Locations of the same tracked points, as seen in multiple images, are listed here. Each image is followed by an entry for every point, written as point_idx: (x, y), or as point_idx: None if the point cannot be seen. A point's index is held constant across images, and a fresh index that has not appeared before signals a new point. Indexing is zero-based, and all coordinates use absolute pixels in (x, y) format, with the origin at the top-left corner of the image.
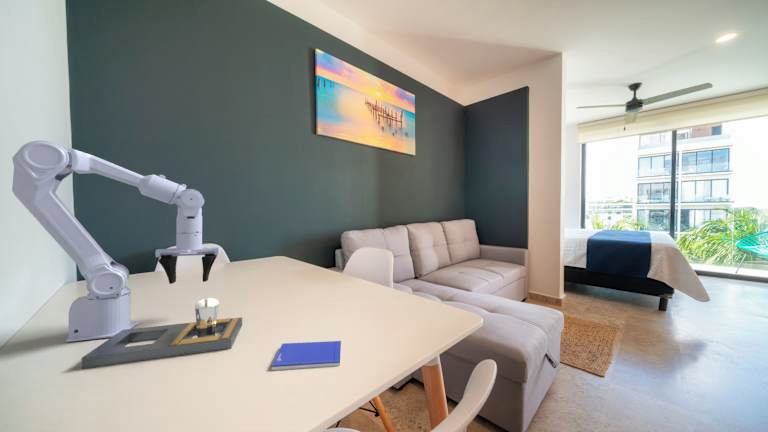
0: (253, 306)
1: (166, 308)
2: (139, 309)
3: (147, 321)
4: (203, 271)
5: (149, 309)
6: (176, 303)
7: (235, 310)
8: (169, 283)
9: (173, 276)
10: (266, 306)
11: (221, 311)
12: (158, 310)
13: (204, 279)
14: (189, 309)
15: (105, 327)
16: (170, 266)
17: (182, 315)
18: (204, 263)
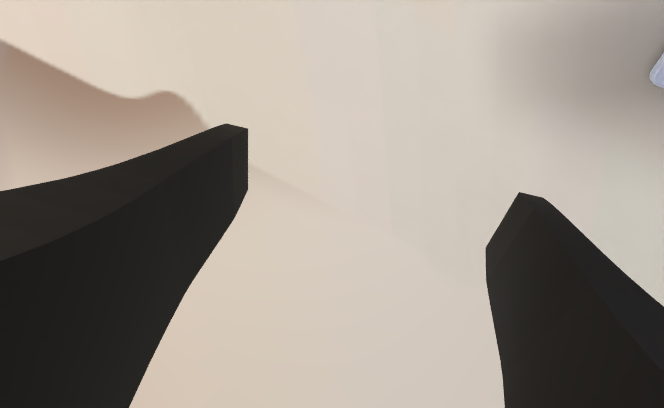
0: (98, 64)
1: None
2: None
3: (599, 89)
4: (172, 166)
5: None
6: (454, 281)
7: (171, 41)
8: (545, 202)
9: (520, 266)
10: (27, 28)
11: (240, 63)
12: None
13: (221, 131)
14: (398, 177)
15: None
16: (628, 360)
17: (426, 99)
18: (45, 219)
